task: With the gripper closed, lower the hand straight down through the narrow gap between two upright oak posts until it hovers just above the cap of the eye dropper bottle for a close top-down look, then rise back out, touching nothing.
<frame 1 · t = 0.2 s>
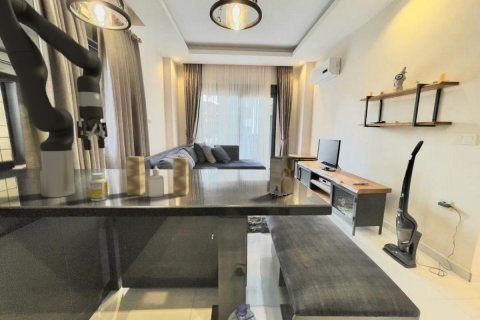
hand: (95, 149, 84), 18 cm above the countertop, tool pointing down, fingers open, 8 cm apart
supplement bottle: (99, 199, 81), on the countertop
post left: (136, 193, 89), on the countertop
coffee box: (281, 194, 94), on the countertop
eye dropper bottle: (156, 196, 87), on the countertop
post right: (181, 194, 90), on the countertop
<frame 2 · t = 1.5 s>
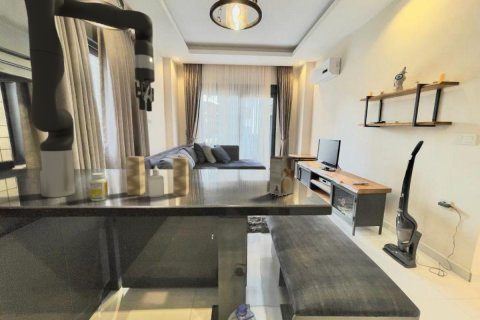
hand: (145, 110, 92), 34 cm above the countertop, tool pointing down, fingers open, 6 cm apart
nothing on the countertop moved.
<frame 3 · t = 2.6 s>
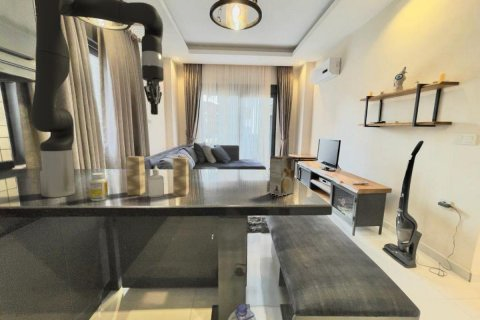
hand: (154, 114, 84), 32 cm above the countertop, tool pointing down, fingers closed
nothing on the countertop moved.
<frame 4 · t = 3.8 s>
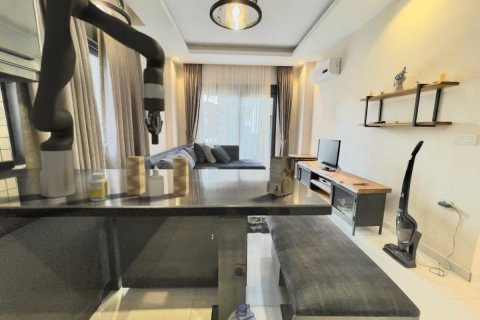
hand: (155, 144, 84), 20 cm above the countertop, tool pointing down, fingers closed
nothing on the countertop moved.
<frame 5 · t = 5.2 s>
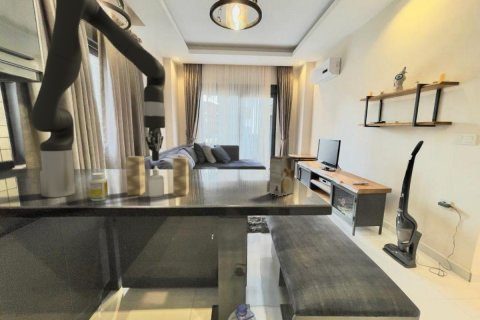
hand: (155, 160, 85), 14 cm above the countertop, tool pointing down, fingers closed
nothing on the countertop moved.
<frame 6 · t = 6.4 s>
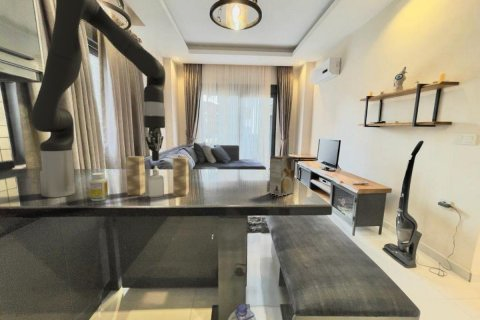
hand: (155, 160, 85), 14 cm above the countertop, tool pointing down, fingers closed
nothing on the countertop moved.
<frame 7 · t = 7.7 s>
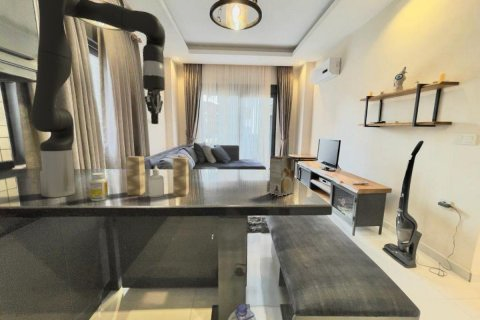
hand: (154, 124, 83), 28 cm above the countertop, tool pointing down, fingers closed
nothing on the countertop moved.
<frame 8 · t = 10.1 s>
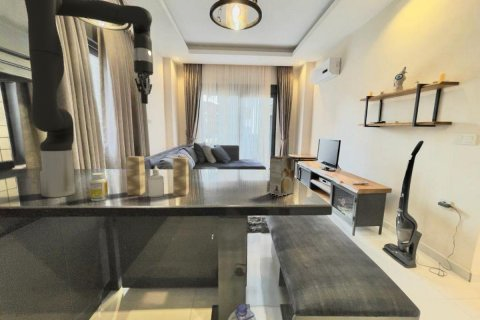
hand: (144, 103, 96), 37 cm above the countertop, tool pointing down, fingers closed
nothing on the countertop moved.
at the end: eye dropper bottle moved 0.2 cm from its start; post left moved 0.0 cm from its start; post right moved 0.0 cm from its start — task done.
